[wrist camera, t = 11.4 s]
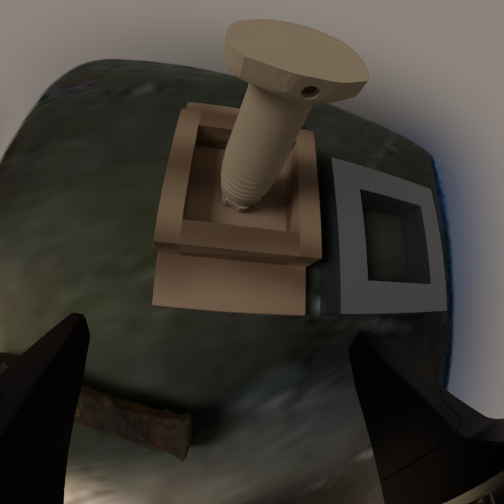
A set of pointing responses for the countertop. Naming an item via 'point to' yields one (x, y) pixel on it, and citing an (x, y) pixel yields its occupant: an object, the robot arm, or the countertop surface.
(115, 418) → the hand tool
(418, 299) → the socket block
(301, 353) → the countertop surface
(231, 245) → the tan piece
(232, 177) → the handle
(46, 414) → the robot arm
